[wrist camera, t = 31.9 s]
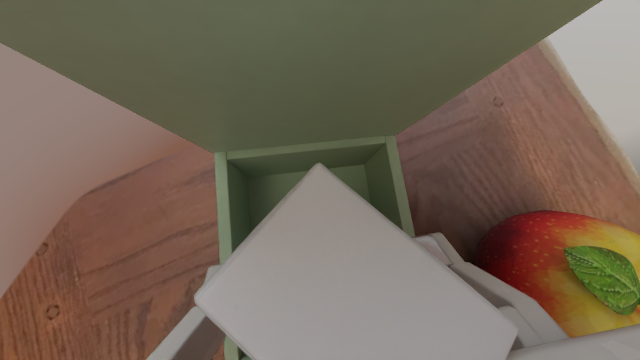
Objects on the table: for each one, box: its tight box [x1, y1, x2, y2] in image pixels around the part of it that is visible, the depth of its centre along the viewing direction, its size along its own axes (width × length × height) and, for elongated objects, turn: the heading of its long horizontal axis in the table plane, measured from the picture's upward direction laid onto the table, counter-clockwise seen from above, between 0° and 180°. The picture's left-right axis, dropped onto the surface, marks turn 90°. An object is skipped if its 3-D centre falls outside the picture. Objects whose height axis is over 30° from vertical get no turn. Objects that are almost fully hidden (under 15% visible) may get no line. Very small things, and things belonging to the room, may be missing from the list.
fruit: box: [474, 210, 640, 338], centre depth 17 cm, size 11×11×10 cm
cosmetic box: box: [194, 163, 518, 360], centre depth 11 cm, size 6×4×12 cm
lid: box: [0, 0, 602, 153], centre depth 9 cm, size 14×13×5 cm
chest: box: [214, 135, 415, 360], centre depth 18 cm, size 14×13×7 cm
